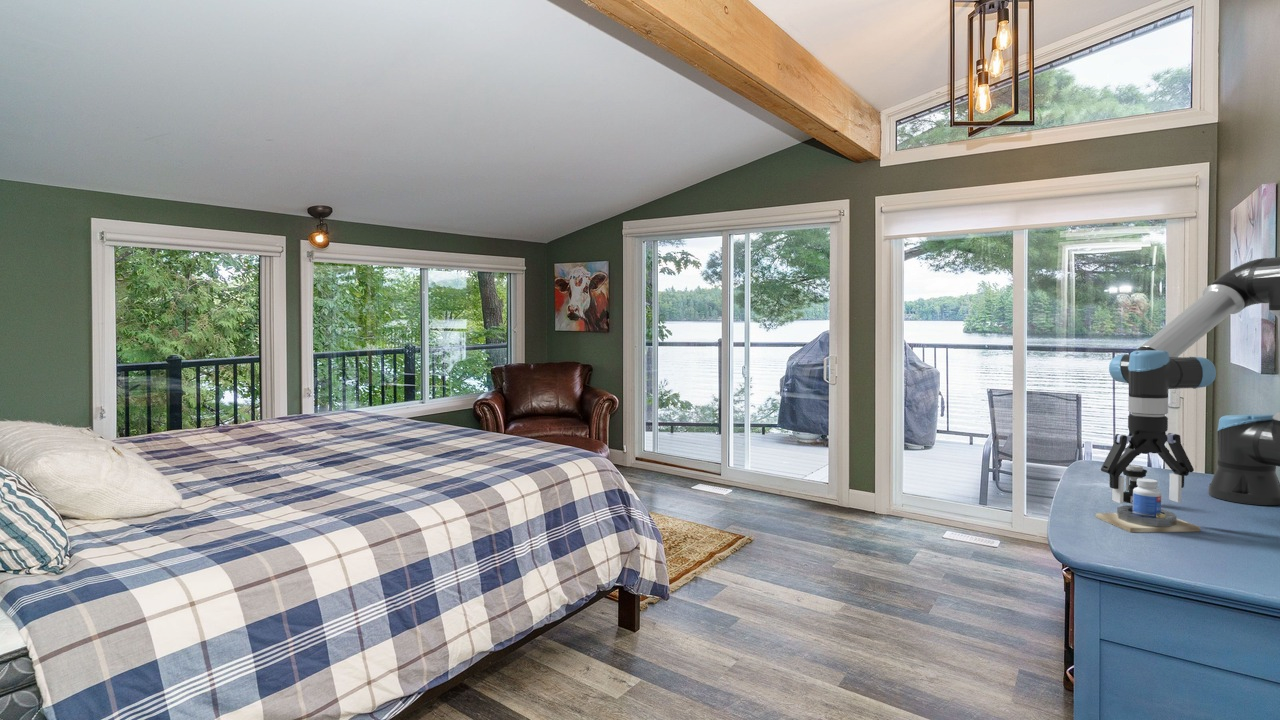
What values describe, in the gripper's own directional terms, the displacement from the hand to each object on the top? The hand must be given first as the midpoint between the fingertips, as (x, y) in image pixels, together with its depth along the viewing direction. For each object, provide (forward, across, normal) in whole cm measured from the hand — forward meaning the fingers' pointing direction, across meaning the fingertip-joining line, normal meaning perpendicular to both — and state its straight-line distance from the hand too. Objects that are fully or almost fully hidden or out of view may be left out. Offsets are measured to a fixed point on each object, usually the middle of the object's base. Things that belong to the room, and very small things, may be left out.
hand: (1146, 501), depth 156 cm
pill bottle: (+5, 0, 0) cm, 5 cm away
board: (+6, 0, 0) cm, 6 cm away
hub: (+6, 0, 0) cm, 6 cm away
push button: (+6, -10, -19) cm, 22 cm away
